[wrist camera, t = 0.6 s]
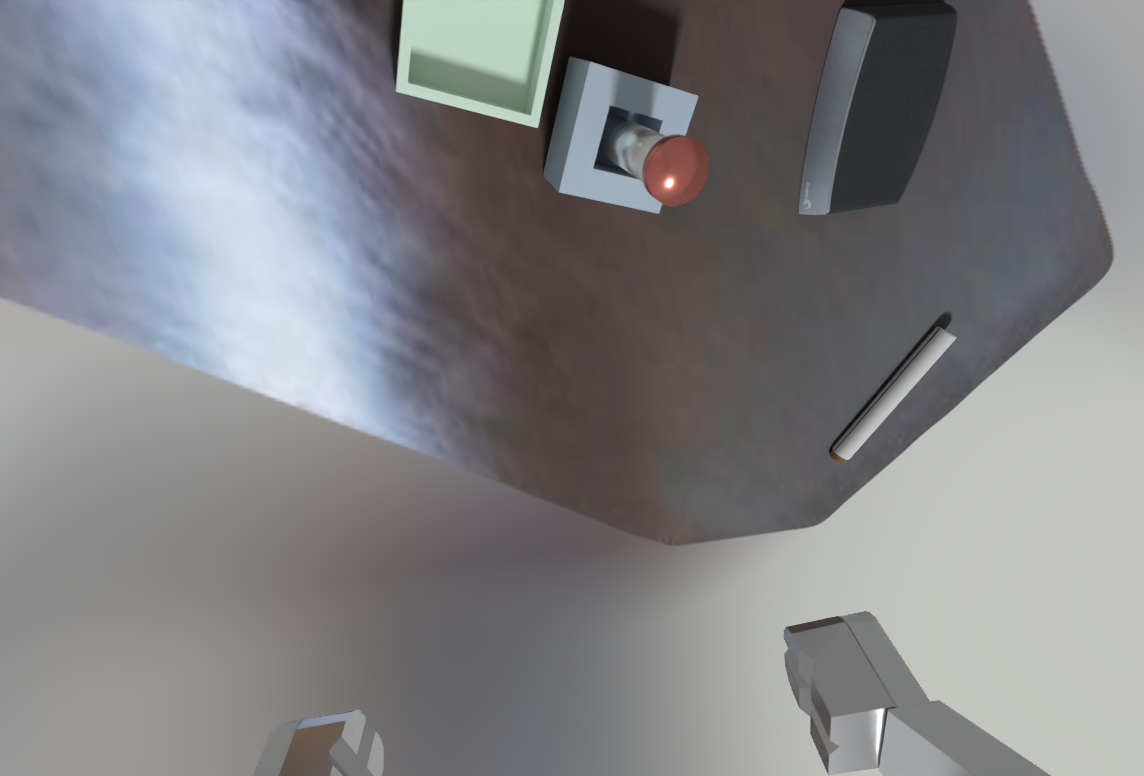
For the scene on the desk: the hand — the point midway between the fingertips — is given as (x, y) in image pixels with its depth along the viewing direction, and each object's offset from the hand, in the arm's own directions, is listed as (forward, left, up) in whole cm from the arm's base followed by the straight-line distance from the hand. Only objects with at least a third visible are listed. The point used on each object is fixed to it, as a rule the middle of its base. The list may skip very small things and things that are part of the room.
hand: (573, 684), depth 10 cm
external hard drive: (-14, +44, -48) cm, 66 cm away
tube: (+20, +72, -48) cm, 89 cm away
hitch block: (-6, +16, -47) cm, 50 cm away
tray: (-11, +3, -47) cm, 49 cm away
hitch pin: (-6, +16, -46) cm, 49 cm away
